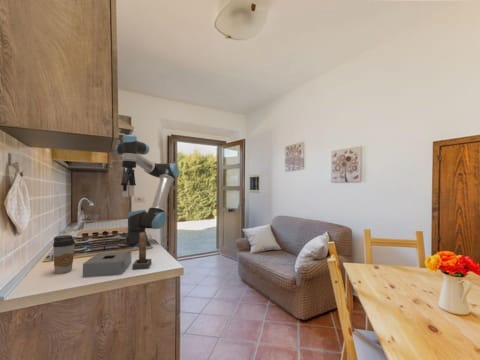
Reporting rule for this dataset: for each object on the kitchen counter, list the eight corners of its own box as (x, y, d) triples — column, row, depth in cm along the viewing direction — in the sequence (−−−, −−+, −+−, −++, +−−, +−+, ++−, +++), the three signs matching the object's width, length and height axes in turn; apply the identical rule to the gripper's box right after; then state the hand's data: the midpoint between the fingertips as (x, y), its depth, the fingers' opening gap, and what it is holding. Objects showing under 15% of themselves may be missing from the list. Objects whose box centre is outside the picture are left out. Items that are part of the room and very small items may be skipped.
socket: (136, 264, 114) (136, 259, 114) (151, 263, 116) (151, 258, 116) (132, 269, 107) (132, 264, 107) (148, 268, 109) (148, 263, 109)
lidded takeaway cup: (67, 254, 130) (68, 234, 130) (75, 256, 126) (76, 235, 127) (49, 259, 122) (50, 237, 122) (56, 261, 118) (57, 239, 119)
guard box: (97, 264, 113) (98, 253, 114) (131, 262, 117) (131, 251, 117) (82, 277, 98) (82, 263, 98) (121, 274, 101) (121, 261, 101)
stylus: (139, 265, 113) (140, 232, 113) (146, 265, 113) (146, 232, 114) (138, 267, 110) (138, 233, 110) (144, 267, 110) (145, 233, 111)
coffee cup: (54, 276, 98) (55, 243, 99) (49, 272, 103) (50, 240, 104) (76, 271, 105) (77, 239, 105) (71, 267, 110) (72, 237, 110)
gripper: (128, 163, 143) (127, 195, 143) (115, 158, 119) (114, 197, 118) (140, 163, 145) (140, 195, 144) (130, 158, 121) (129, 197, 120)
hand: (128, 196), depth 131 cm, fingers open, 13 cm apart
